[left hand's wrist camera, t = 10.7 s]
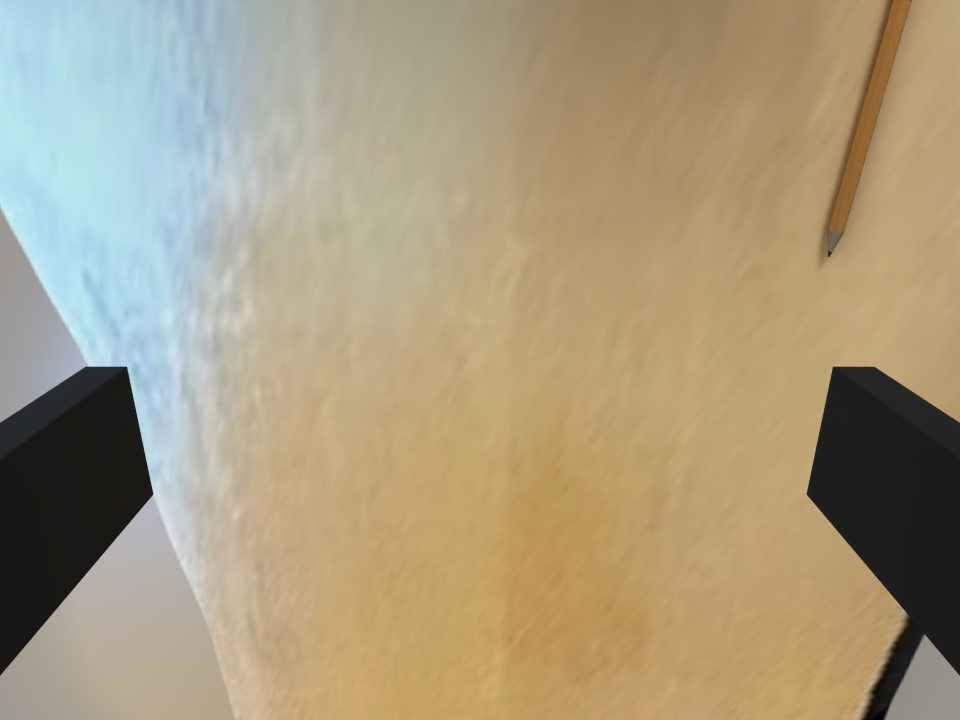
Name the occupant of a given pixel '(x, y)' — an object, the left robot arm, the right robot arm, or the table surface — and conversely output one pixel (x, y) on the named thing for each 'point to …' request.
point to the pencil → (867, 120)
